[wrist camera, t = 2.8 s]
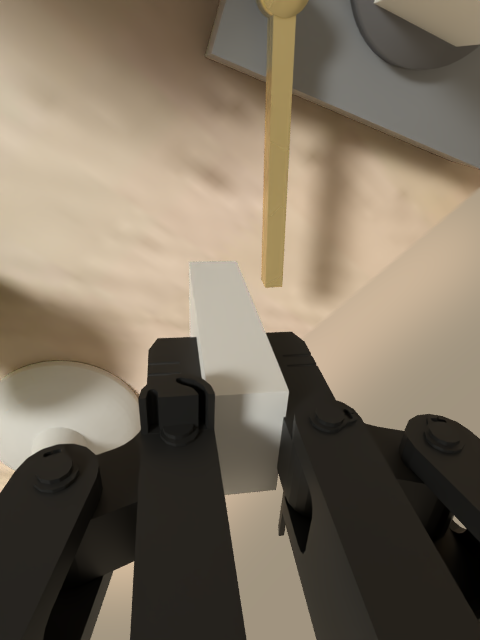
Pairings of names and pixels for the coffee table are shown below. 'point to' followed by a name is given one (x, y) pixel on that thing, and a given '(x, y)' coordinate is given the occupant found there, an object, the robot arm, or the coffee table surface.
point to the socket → (360, 77)
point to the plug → (419, 30)
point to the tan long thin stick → (277, 131)
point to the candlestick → (64, 410)
